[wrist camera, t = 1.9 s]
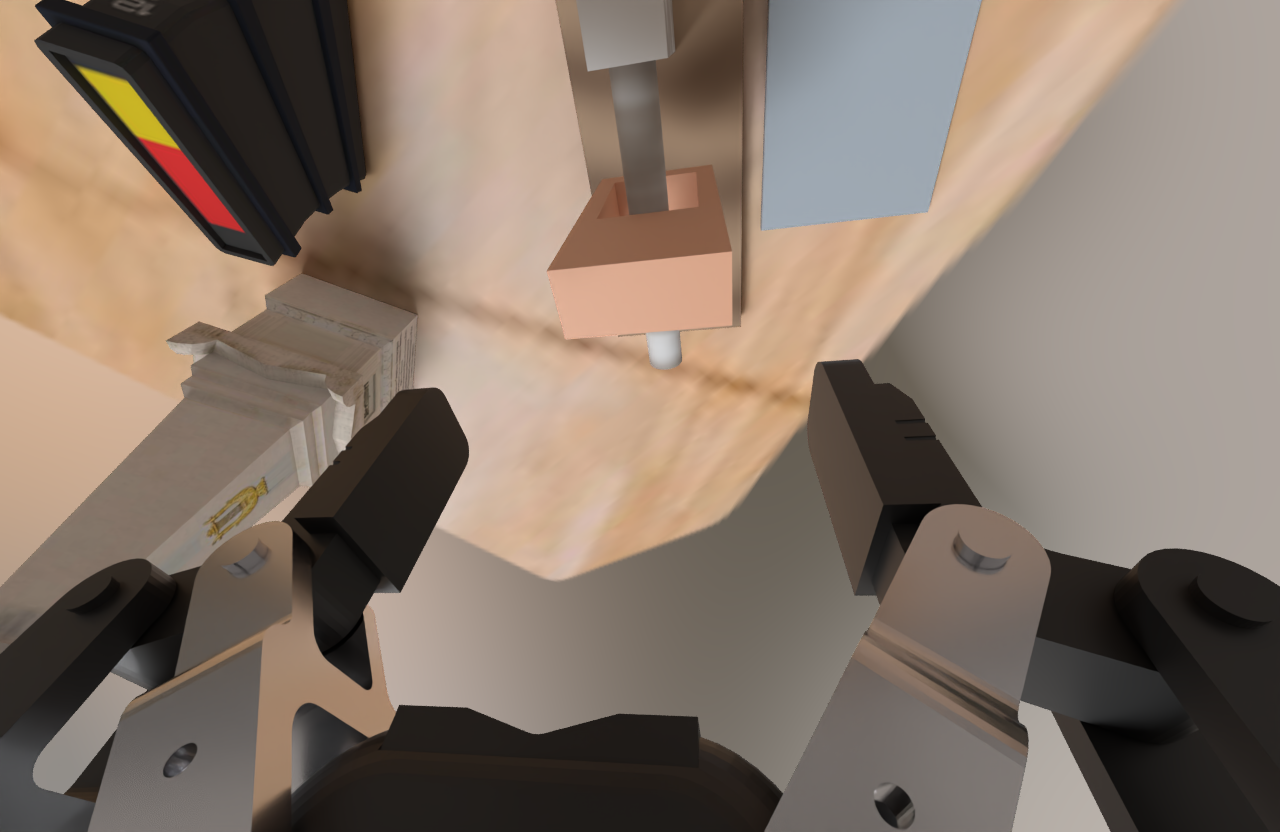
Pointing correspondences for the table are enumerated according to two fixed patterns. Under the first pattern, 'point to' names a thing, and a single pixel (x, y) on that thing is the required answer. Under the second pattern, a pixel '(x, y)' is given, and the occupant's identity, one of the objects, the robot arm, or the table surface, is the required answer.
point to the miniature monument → (230, 439)
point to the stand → (660, 108)
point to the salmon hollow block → (646, 262)
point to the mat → (858, 106)
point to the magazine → (223, 105)
